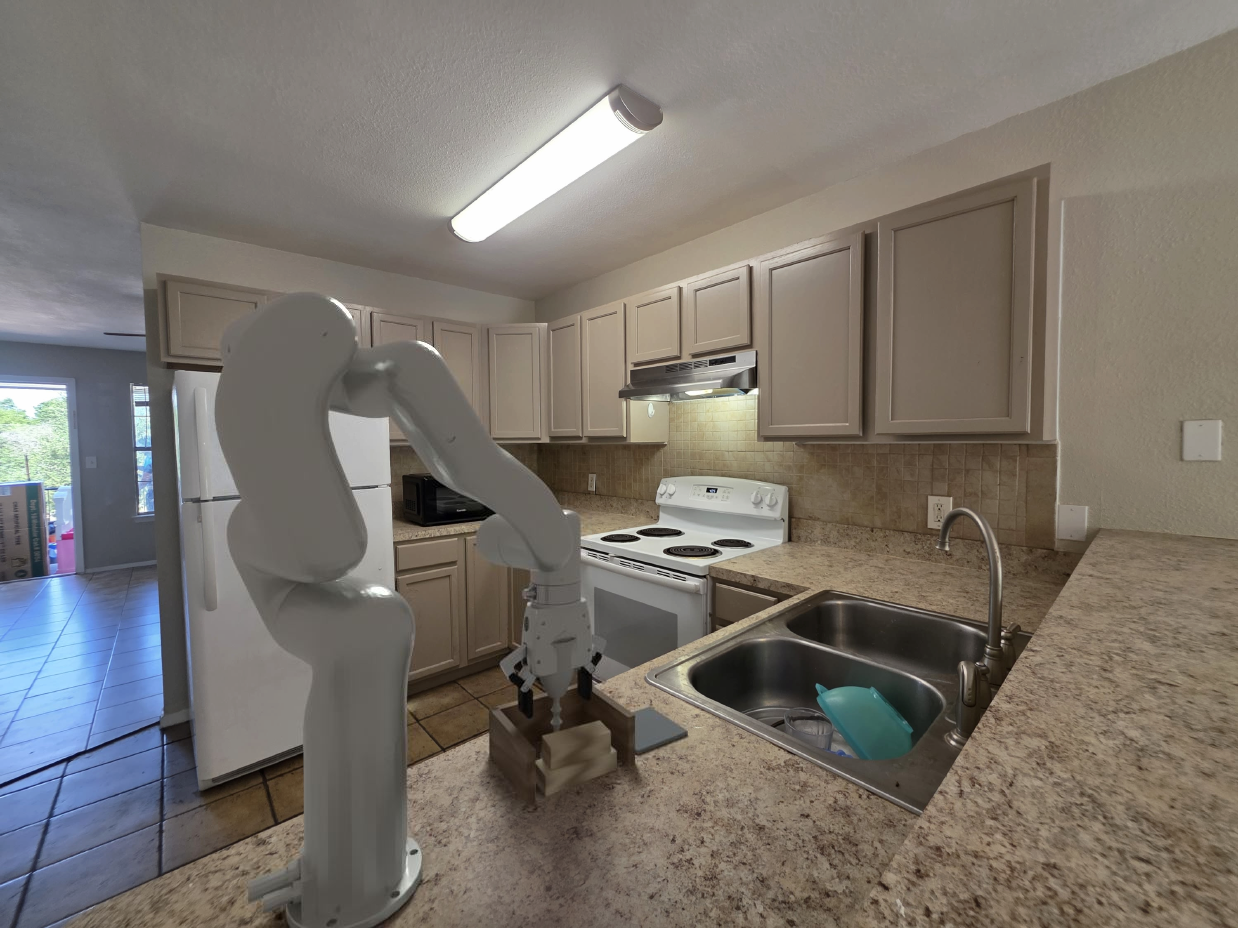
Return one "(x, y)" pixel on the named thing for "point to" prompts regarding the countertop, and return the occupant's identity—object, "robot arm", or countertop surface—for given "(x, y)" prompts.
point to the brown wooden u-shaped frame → (519, 733)
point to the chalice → (559, 680)
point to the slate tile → (654, 729)
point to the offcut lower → (573, 772)
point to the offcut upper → (576, 745)
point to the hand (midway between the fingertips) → (556, 705)
